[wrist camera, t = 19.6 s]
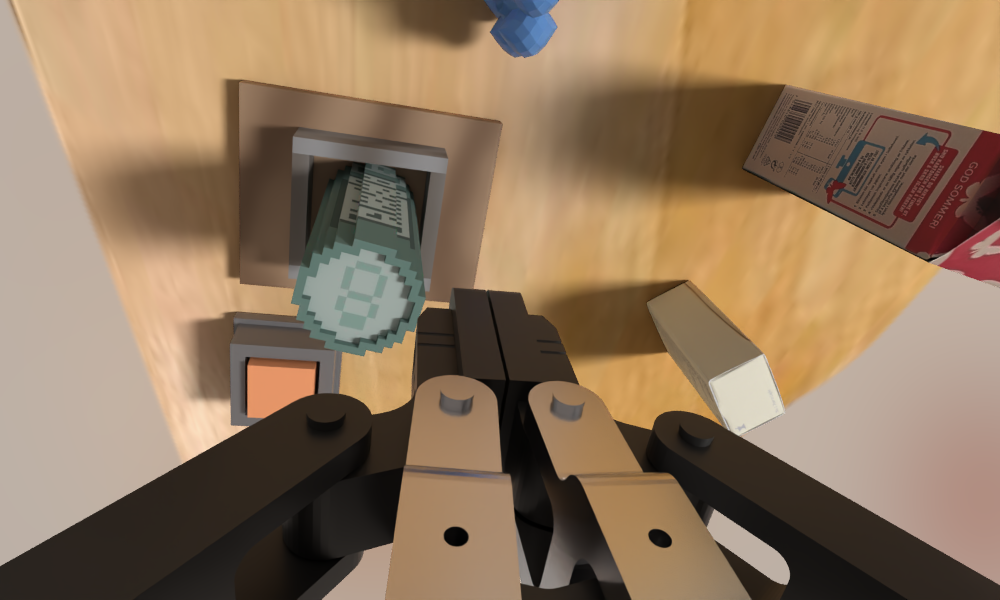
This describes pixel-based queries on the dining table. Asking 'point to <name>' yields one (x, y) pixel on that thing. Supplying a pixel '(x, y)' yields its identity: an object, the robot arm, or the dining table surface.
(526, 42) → the grapes
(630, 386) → the dining table surface
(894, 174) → the juice carton
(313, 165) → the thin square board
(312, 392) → the button
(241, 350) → the button housing
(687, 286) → the skincare box
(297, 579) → the robot arm
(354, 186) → the can
